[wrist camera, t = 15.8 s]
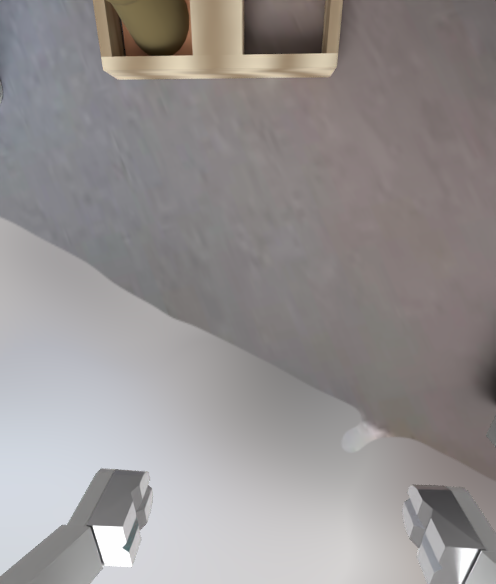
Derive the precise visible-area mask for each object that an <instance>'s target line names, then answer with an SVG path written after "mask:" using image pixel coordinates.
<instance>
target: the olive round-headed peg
mask: <svg viewBox="0 0 496 584" xmlns="http://www.w3.org/2000/svg"><path fill="white" fill-rule="evenodd" d="M106 1H108V2H110V3H111V4H112V5H113V7H114V9H115V10H116V12H117V13H118V15H119V17H120V18H121V20H122V22H123V23H124V25H125V26H126V28H127V30H128V31H129V33H130V35H131V36H132V38H133V39H134V41H135V43H136V44H137V45H138V46H139V47H140V48H141V49H142V50H143V51H144V52H145V53H147V54H149V55H151V56H172V55H173V54H175V53H176V52H177V51H178V50H180V48H181V47H182V45H183V44H184V42H185V40H186V38H187V34H188V30H189V13H188V8H187V4H186V2H185V0H106Z"/></svg>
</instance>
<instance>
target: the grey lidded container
mask: <svg viewBox="0 0 496 584" xmlns="http://www.w3.org/2000/svg"><path fill="white" fill-rule="evenodd" d="M486 436H487V437H488V439H489V440H490V441H491V442H492V443H493V445H494V446H495V447H496V415H495V417H494V420H493V422H492V424H491V426H490V428H489V430H488V432H487V434H486Z"/></svg>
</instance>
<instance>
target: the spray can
mask: <svg viewBox="0 0 496 584" xmlns="http://www.w3.org/2000/svg"><path fill="white" fill-rule="evenodd" d="M2 96H3V90H2V84H1V81H0V104H1V101H2Z"/></svg>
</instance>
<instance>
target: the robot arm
mask: <svg viewBox="0 0 496 584" xmlns="http://www.w3.org/2000/svg"><path fill="white" fill-rule="evenodd" d="M149 481H150V476H149V472H147V471H132V470H118V469H100V470H99V471H98V472H97V473H96V474H95V476H94V478H93V480H92V482H91V483H90V485H89V487H88V489H87V490H86V492H85V494H84V496H83V497H82V499H81V501H80V503H79V505H78V506H77V508H76V510H75V512H74V513H73V515H72V517H71V519H70V520H69V522H68V524H67V525H61V526H60V527H59V528H58V529H56V530H55V531H54V532H53V533H52V534H50V535H49V536H48V537H47V538H46V539H44V540H43V541H42V542H41V543H40V544H38V545H37V546H36V547H35V548H34V549H33V550H31V551H30V552H29V553H28V554H26V555H25V556H24V557H23V558H22V559H20V560H19V561H18V562H17V563H16V564H15V565H13V566H12V567H11V568H10V569H9V570H7V571H6V572H5V573H4V574H3V575H2V576H0V584H90V583H91V582H92V581H93V579H94V578H95V577H96V576H97V575H98V574H99V572H100V571H101V570H102V569H103V566H124V567H132V566H133V563H134V560H135V557H136V554H137V551H138V548H139V545H140V542H141V536H140V530H141V529H142V527H144V526H145V525H146V523H147V522H148V518H149V515H150V511H151V506H152V501H153V492H152V488H151V487H150V486H149V485H148V483H149ZM407 493H408V495H409V499H408V500H406V501H405V502H404V505H403V509H402V512H403V521H404V525H405V529H406V531H407V534H408V537H409V539H410V540H411V541H412V542H413V543H414V544H415V545H416V546H417V547H418V553H417V559H418V562H419V564H420V567H421V569H422V572H423V574H424V576H425V579H426V582H427V584H496V533H495V531H494V530H493V528H492V527H491V525H490V524H489V522H488V521H487V519H486V518H485V516H484V515H483V513H482V511H481V510H480V508H479V507H478V505H477V504H476V502H475V501H474V499H473V498H472V496H471V495H470V493H469V492H468V491H467V490H466V489H465V488H463V487H447V486H436V485H411V486H409V488H408V491H407Z"/></svg>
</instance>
